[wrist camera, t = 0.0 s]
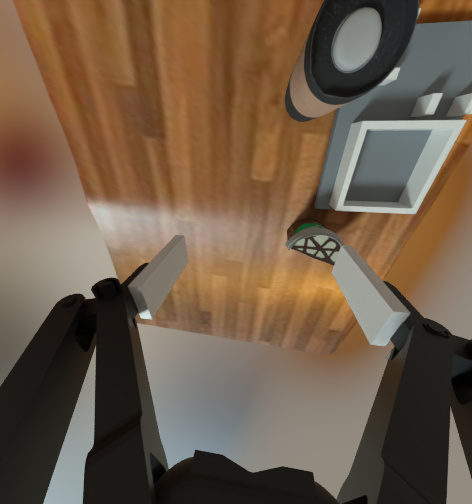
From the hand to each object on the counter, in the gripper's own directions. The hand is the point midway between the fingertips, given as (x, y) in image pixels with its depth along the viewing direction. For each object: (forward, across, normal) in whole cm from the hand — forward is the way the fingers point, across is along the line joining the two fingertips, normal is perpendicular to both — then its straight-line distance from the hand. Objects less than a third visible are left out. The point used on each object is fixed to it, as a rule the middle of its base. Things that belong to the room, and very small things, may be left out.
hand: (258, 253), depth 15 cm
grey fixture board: (+28, +22, +9) cm, 37 cm away
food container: (+28, +13, -9) cm, 32 cm away
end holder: (+26, +22, +4) cm, 34 cm away
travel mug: (+28, +7, +15) cm, 33 cm away
